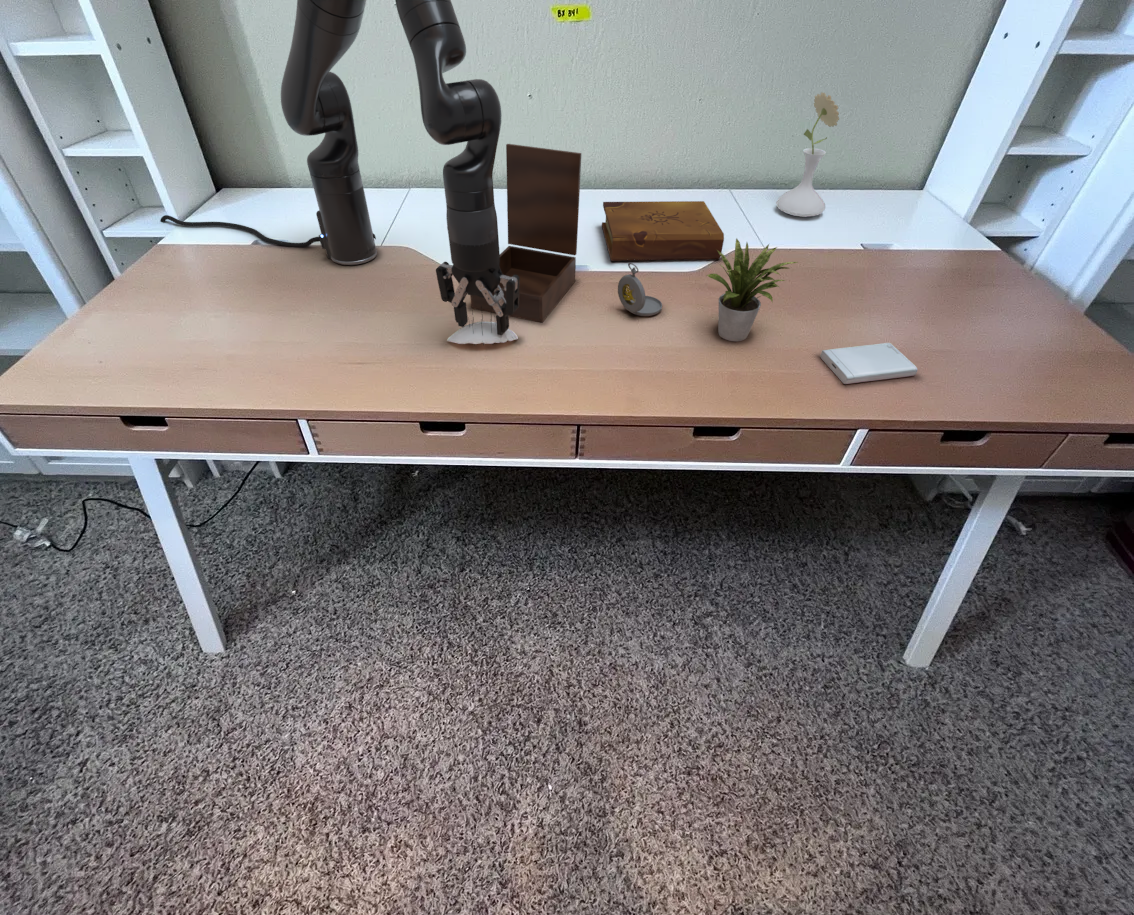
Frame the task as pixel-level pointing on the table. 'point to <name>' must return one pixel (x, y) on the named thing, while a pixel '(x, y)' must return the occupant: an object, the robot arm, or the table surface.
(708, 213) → the diary
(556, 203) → the lid
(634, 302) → the pocket watch
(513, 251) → the box
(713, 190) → the table surface
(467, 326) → the pincushion
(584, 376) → the table surface
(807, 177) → the flower in vase
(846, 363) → the hard drive
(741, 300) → the house plant
